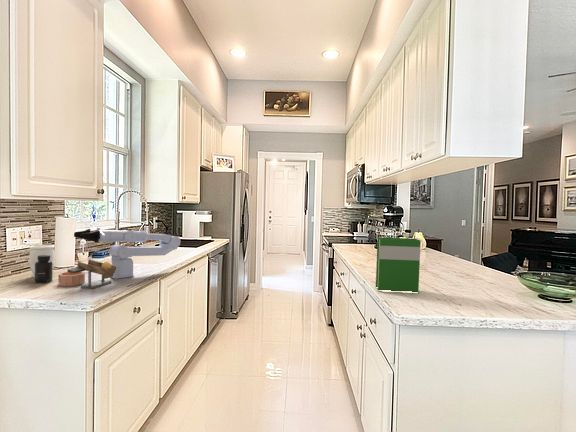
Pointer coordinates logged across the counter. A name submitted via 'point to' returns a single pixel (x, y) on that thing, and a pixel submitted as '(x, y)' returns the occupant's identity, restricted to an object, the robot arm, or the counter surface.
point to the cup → (71, 278)
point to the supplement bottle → (43, 269)
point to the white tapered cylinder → (40, 250)
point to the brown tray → (94, 268)
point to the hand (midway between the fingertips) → (77, 235)
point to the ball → (106, 265)
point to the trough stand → (94, 284)
